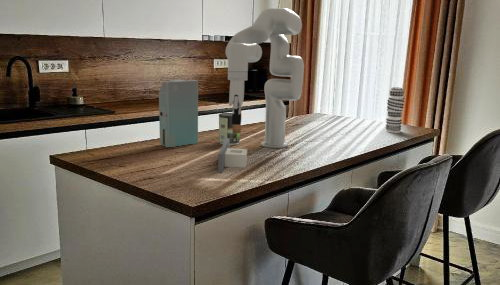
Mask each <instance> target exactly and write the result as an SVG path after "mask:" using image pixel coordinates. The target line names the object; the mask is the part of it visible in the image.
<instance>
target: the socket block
mask: <svg viewBox="0 0 500 285" xmlns="http://www.w3.org/2000/svg"><path fill="white" fill-rule="evenodd" d="M247 163H248V148H231V147H230V148H227V151H226V153H225V167H224V168H247V167H246V166H247Z"/></svg>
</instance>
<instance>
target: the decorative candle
mask: <svg viewBox="0 0 500 285" xmlns="http://www.w3.org/2000/svg"><path fill="white" fill-rule="evenodd" d="M404 94H405V90H404V89H403V88H402V87H398V86H397V87H394V86H393V87H391V88H390V89H389V94H388V99H387V102H386V104H387V107H386V108H387V109H386V111H387V116H386V119H385V120H386V121H385V123H386V124H385V132H387V133H392V134H394V133H395V134H398V133H401V132H402V131H401V130H402V121H403V120H402V118H403V117H402V113H403V112H404V110H403V109H404V105H405V104H404V102H405V97H404Z"/></svg>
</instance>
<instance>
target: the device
mask: <svg viewBox="0 0 500 285" xmlns="http://www.w3.org/2000/svg"><path fill="white" fill-rule="evenodd" d="M158 110H159V113H158V114H159V145H160V144H161V145H163V146H162V147H164V146H166V147H165V148H167V147H174V146H180V147H182V146H181V145H187V144H193V145H196V144H195V143H198V144H199V80H197V79H196V80H194V79H192V80H184V79H169V80H168V81H164V82H162V84H161V86H160V88H159V90H158ZM161 145H160V146H161ZM187 146H188V145H187ZM174 148H175V147H174Z"/></svg>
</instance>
